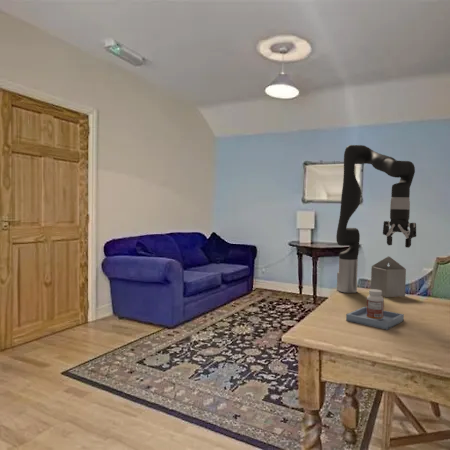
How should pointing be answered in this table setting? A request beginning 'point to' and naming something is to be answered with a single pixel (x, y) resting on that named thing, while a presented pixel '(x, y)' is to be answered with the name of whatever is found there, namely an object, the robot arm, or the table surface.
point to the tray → (386, 323)
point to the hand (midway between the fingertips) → (398, 246)
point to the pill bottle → (375, 304)
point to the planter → (388, 278)
